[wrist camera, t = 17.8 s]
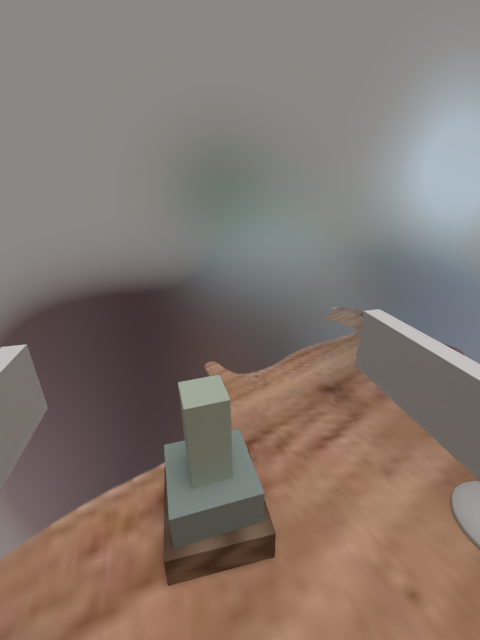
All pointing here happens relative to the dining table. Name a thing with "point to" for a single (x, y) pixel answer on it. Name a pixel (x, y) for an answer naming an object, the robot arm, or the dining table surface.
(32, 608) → the dining table surface
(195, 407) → the sage pillar block
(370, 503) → the dining table surface
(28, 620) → the dining table surface
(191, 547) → the walnut base block
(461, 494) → the candlestick
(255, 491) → the slate top block
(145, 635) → the dining table surface
